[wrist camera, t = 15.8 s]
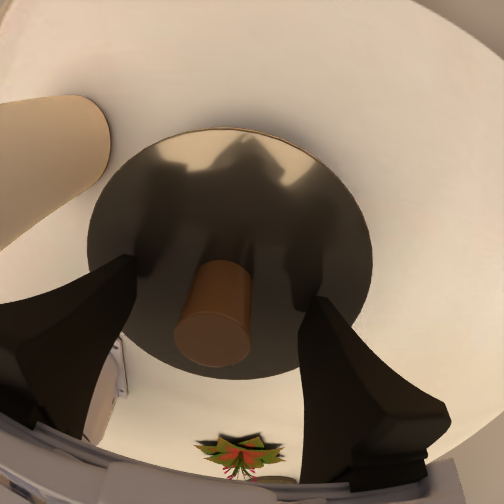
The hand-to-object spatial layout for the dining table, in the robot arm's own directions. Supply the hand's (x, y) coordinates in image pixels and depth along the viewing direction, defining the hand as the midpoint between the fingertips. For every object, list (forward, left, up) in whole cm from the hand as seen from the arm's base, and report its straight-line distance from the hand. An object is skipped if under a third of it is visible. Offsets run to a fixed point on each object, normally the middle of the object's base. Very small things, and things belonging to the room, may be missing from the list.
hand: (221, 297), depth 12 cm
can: (+3, +11, -7) cm, 14 cm away
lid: (0, 0, -1) cm, 1 cm away
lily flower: (-30, -7, -7) cm, 32 cm away
